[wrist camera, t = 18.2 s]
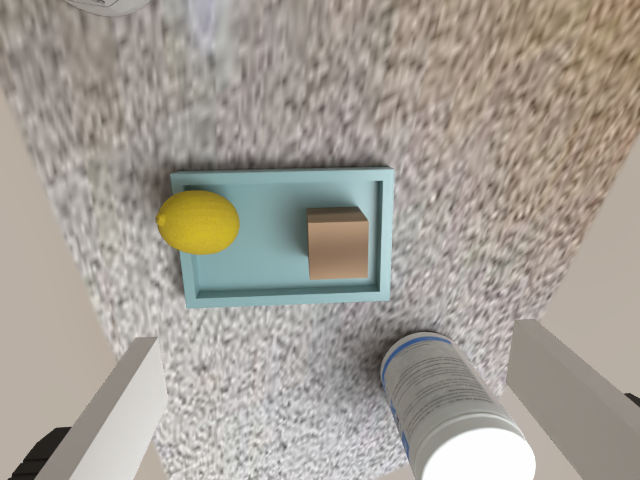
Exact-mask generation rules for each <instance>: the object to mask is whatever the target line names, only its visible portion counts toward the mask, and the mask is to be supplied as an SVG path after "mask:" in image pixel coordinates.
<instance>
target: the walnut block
mask: <svg viewBox="0 0 640 480" xmlns="http://www.w3.org/2000/svg"><path fill="white" fill-rule="evenodd" d="M307 242H308V265H309V277H310V280H320V279H348V278H368V243H369V221H368V219H367V218H366V217H365V215H364V214H363V213H362V211H361V210H360V208H359V207H326V208H307Z"/></svg>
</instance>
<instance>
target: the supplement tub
mask: <svg viewBox="0 0 640 480" xmlns="http://www.w3.org/2000/svg"><path fill="white" fill-rule="evenodd" d="M380 375H381V381H382V385H383V388H384V391H385V394H386V397H387V400H388V403H389V406H390V408H391V411H392V414H393V417H394V420H395V423H396V426H397V429H398V432H399V434H400V437H401V440H402V443H403V446H404V449H405V452H406V455H407V457H408V460H409V463H410V466H411V469H412V471H413V474H414V477H415V479H416V480H533V477H534V473H535V457H534V454H533V451H532V449H531V447H530V446H529V444H528V443H527V441H526V439H525V437H524V435H523V433H522V432H521V430H520V429H519V428H518V426H517V425H516V423H515V422H514V421H513V420H512V418H511V417H510V415H509V414H508V413H507V411H506V410H505V409H504V407H503V406H502V404H501V403H500V402H499V400H498V399H497V398H496V396H495V395H494V394H493V392H492V391H491V390H490V388H489V387H488V386H487V384H486V383H485V382H484V380H483V379H482V378H481V376H480V375H479V374H478V372H477V371H476V370H475V368H474V367H473V366H472V364H471V363H470V362H469V360H468V359H467V358H466V356H465V355H464V354H463V352H462V351H461V350H460V349H459V347H458V346H457V345H456V344H455V343H454V342H453V341H452V340H450V339H449V338H447V337H445V336H443V335H440V334H437V333H432V332H419V333H414V334H411V335H408V336H406V337H404V338H402V339H400V340H399V341H397V342H396V343H395V344H394V345H393V346H392V347H391V348H390V349H389V350H388V352H387V353H386V355H385V357H384V359H383V361H382V365H381V371H380Z"/></svg>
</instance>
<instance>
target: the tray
mask: <svg viewBox="0 0 640 480" xmlns="http://www.w3.org/2000/svg"><path fill="white" fill-rule="evenodd" d="M170 179H171V187H172V195H175V194H177V193H180V192H183V191H193V190H202V191H209V192H213V193H216V194H218V195H220V196H223V197H224V198H226V199H227V200H228V201H229V202H230V203H231V204H233V206H234V207H235V209H236V211H237V213H238V216H239V221H240V228H239V232H238V235H237V237H236V239H235V240H234V242H233V243H232V244H231V245H230V246H229V247H227V248H226V249H224V250H222V251H220V252H218V253H214V254H208V255H195V254H189V253H185V252H182V251H180V250H179V252H180V260H181V268H182V276H183V284H184V292H185V300H186V308H212V307H238V306H263V305H289V304H314V303H340V302H366V301H390V275H391V248H392V221H393V194H394V169H393V168H391V167H389V166H384V167H339V168H294V169H250V170H205V171H177V172H175V173H172V174H170ZM326 207H359V208H360V210H361V211H362V213H363V214H364V215H365V217H366V218H367V219H368V221H369V243H368V278H348V279H320V280H310V277H309V265H308V242H307V208H326Z"/></svg>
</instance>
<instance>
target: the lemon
mask: <svg viewBox="0 0 640 480" xmlns="http://www.w3.org/2000/svg"><path fill="white" fill-rule="evenodd" d="M155 220H156V223H157V224H158V229H159V232H160V234H161V236H162V237H163V239H164V240H165V241H166V242H167V243H168V244H169V245H170V246H171V247H173V248H175V249H177V250H180V251H182V252H185V253H189V254H195V255H208V254H214V253H218V252H220V251H222V250H224V249H226V248H227V247H229V246H230V245H231V244H232V243H233V242H234V240H235V239H236V237H237V235H238V232H239V228H240V221H239V216H238V213H237V211H236V209H235V207H234V206H233V204H231V203H230V202H229V201H228V200H227V199H226V198H224V197H223V196H220V195H218V194H216V193H213V192H209V191H202V190H193V191H183V192H180V193H177V194H175V195H173V196H171V197H170V198H168V199H167V200H166V201H165V202H164V204H163V205H162V207H161V208H160V210H159V213H158V214H157V215H156V218H155Z"/></svg>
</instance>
